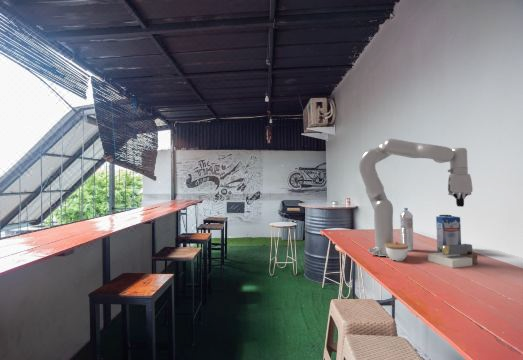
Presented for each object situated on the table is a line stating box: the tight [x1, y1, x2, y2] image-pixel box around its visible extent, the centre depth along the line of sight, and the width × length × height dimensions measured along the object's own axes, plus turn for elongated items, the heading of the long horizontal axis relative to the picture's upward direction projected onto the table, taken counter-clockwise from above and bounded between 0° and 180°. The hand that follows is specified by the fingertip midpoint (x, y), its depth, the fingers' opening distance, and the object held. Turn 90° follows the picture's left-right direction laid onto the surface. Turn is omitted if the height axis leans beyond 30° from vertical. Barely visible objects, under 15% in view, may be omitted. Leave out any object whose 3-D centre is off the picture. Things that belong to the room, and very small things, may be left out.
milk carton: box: [435, 215, 462, 253], centre depth 166 cm, size 10×6×20 cm, turn 88°
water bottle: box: [399, 207, 415, 252], centre depth 173 cm, size 7×7×25 cm
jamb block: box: [458, 252, 478, 266], centre depth 143 cm, size 4×6×5 cm, turn 15°
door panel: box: [427, 252, 473, 269], centre depth 144 cm, size 12×14×4 cm
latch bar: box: [442, 243, 473, 255], centre depth 142 cm, size 16×4×4 cm, turn 100°
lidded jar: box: [386, 241, 409, 262], centre depth 152 cm, size 11×11×9 cm
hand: (460, 206), depth 153 cm, fingers closed
